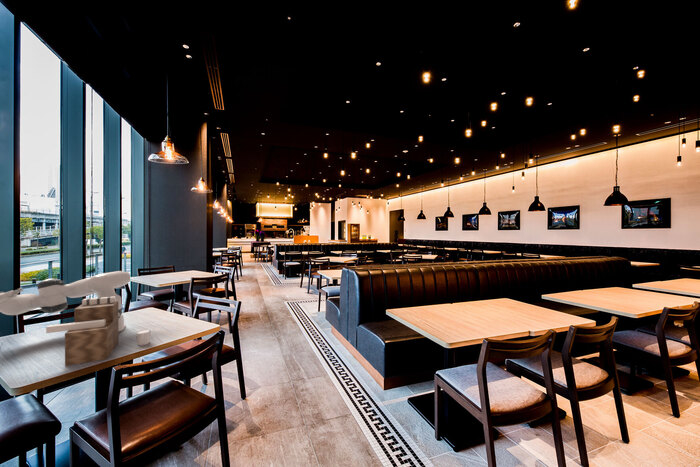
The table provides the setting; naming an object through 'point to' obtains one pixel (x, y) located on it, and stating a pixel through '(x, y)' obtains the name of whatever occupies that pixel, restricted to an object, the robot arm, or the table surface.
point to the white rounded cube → (143, 337)
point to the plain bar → (75, 326)
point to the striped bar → (98, 300)
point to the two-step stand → (92, 334)
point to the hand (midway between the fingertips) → (16, 290)
